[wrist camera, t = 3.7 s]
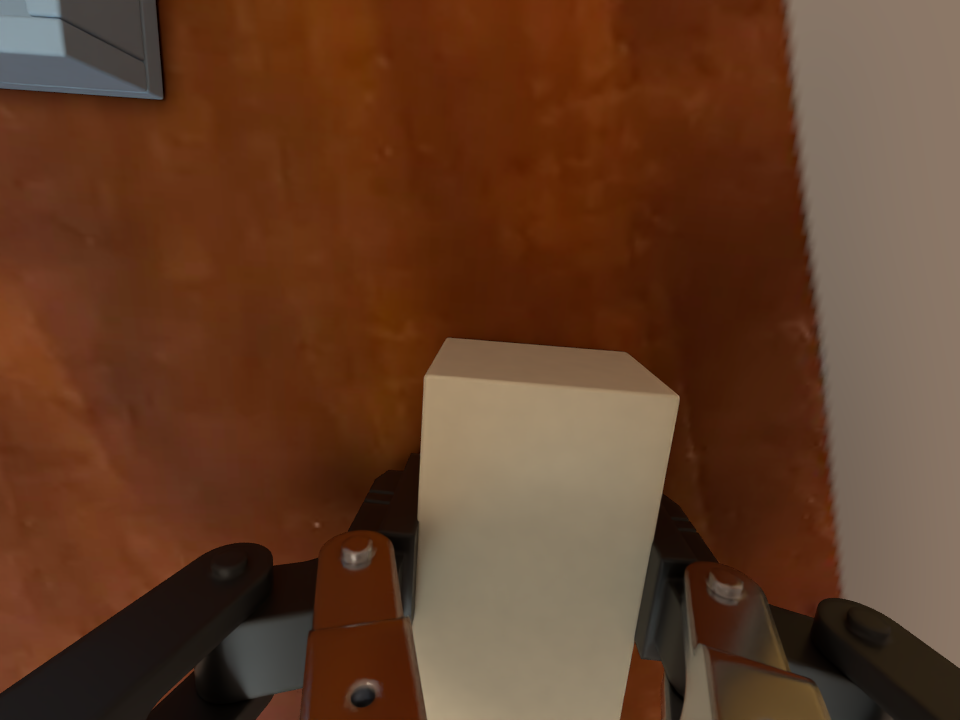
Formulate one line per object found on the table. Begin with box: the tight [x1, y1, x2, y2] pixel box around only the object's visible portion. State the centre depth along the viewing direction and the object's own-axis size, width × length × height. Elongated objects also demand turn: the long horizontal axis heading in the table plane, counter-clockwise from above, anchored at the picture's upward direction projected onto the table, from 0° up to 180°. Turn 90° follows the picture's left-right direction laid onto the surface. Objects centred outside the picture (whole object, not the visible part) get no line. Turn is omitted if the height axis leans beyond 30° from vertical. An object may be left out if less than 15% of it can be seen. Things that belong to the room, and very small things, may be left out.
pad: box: [412, 338, 680, 720], centre depth 11 cm, size 4×8×4 cm, turn 176°
